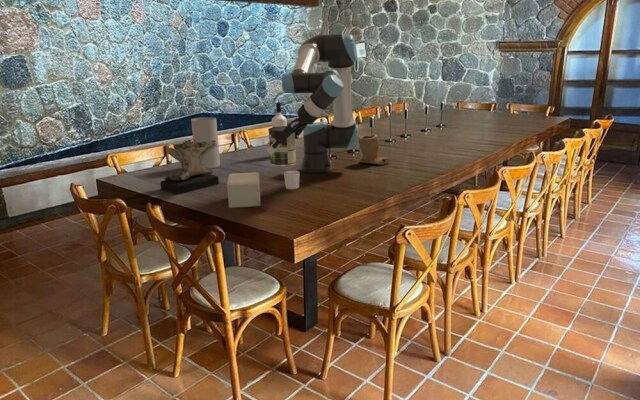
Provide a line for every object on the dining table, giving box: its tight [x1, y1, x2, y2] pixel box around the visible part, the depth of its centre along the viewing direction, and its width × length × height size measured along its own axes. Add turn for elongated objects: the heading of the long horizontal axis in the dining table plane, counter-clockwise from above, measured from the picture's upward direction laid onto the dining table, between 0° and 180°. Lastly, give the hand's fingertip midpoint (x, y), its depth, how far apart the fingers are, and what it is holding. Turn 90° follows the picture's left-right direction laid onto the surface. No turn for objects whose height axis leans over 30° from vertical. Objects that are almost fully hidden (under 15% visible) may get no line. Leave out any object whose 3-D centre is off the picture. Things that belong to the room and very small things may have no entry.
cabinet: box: [226, 171, 261, 209], centre depth 199 cm, size 12×17×10 cm
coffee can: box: [267, 125, 297, 168], centre depth 196 cm, size 10×10×14 cm
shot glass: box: [283, 170, 301, 190], centre depth 219 cm, size 7×7×7 cm
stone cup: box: [358, 134, 391, 166], centre depth 258 cm, size 15×12×15 cm
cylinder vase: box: [190, 116, 221, 170], centre depth 260 cm, size 12×12×25 cm
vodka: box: [271, 102, 288, 128], centre depth 281 cm, size 9×9×30 cm
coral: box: [160, 139, 220, 196], centre depth 222 cm, size 25×20×22 cm
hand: (276, 149), depth 198 cm, fingers closed on coffee can, 10 cm apart
